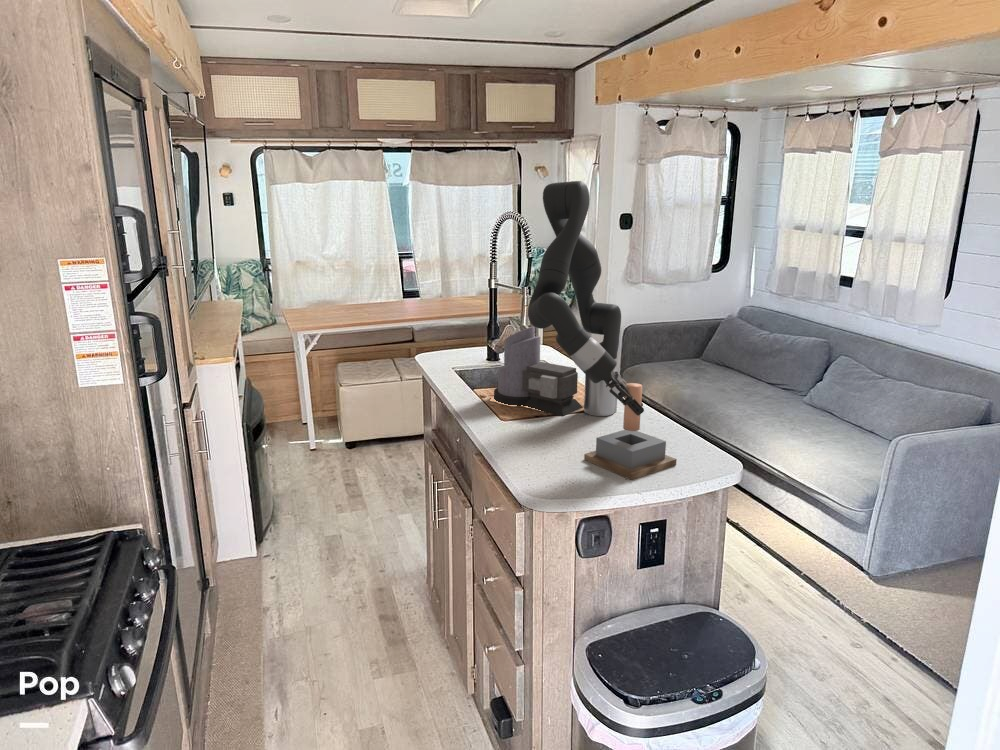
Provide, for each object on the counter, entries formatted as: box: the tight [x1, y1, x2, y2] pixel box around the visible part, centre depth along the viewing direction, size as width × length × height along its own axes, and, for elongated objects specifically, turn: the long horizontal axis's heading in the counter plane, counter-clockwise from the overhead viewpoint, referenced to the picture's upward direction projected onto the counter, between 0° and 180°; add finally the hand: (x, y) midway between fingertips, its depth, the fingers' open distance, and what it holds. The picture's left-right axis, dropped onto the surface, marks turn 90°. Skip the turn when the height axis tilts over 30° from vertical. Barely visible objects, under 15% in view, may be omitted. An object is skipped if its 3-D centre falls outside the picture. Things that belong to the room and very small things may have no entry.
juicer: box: [493, 326, 584, 417], centre depth 223 cm, size 30×16×24 cm, turn 53°
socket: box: [595, 429, 667, 469], centre depth 177 cm, size 12×12×4 cm
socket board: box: [583, 450, 677, 481], centre depth 178 cm, size 16×16×2 cm
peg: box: [622, 382, 643, 431], centre depth 174 cm, size 4×4×11 cm
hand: (640, 409), depth 174 cm, fingers closed on peg, 4 cm apart
